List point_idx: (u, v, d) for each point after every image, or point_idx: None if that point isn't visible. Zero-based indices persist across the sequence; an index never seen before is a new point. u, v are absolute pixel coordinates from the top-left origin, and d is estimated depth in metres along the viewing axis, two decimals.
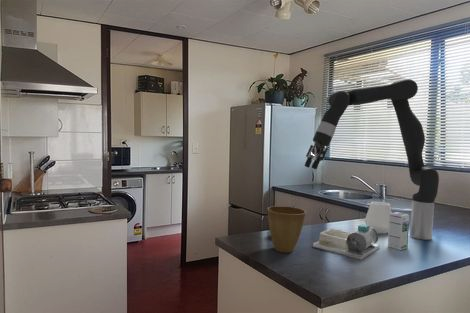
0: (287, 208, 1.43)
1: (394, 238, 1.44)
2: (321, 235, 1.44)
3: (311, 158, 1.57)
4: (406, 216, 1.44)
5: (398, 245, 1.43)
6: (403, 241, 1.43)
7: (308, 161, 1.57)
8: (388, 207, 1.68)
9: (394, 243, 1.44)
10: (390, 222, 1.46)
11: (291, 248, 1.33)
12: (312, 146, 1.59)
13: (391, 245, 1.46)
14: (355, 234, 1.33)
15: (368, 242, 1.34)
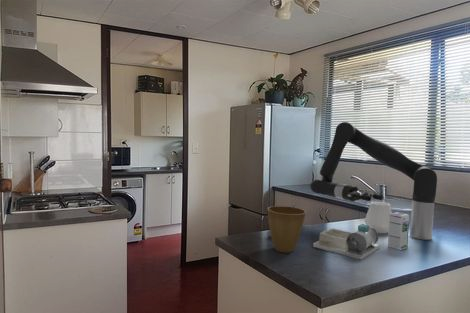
0: (287, 208, 1.43)
1: (394, 238, 1.44)
2: (321, 235, 1.44)
3: (373, 194, 1.60)
4: (406, 216, 1.44)
5: (398, 245, 1.43)
6: (403, 241, 1.43)
7: (376, 197, 1.59)
8: (388, 207, 1.68)
9: (394, 243, 1.44)
10: (390, 222, 1.46)
11: (291, 248, 1.33)
12: None
13: (391, 245, 1.46)
14: (355, 234, 1.33)
15: (368, 242, 1.34)
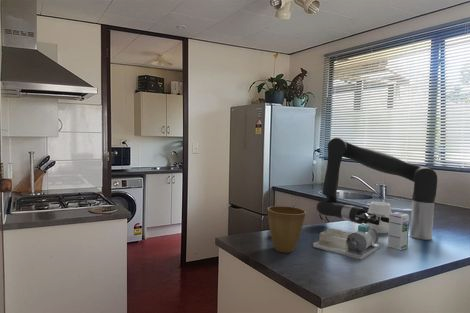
0: (287, 208, 1.43)
1: (394, 238, 1.44)
2: (321, 235, 1.44)
3: (381, 217, 1.57)
4: (406, 216, 1.44)
5: (398, 245, 1.43)
6: (403, 241, 1.43)
7: (384, 220, 1.56)
8: (388, 207, 1.68)
9: (394, 243, 1.44)
10: (390, 222, 1.46)
11: (291, 248, 1.33)
12: None
13: (391, 245, 1.46)
14: (355, 234, 1.33)
15: (368, 242, 1.34)
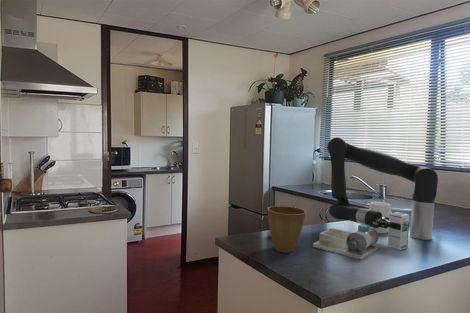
0: (287, 208, 1.43)
1: (394, 238, 1.44)
2: (321, 235, 1.44)
3: None
4: (406, 216, 1.44)
5: (398, 245, 1.43)
6: (403, 241, 1.43)
7: None
8: (388, 207, 1.68)
9: (394, 243, 1.44)
10: None
11: (291, 248, 1.33)
12: None
13: (391, 245, 1.46)
14: (355, 234, 1.33)
15: (368, 242, 1.34)
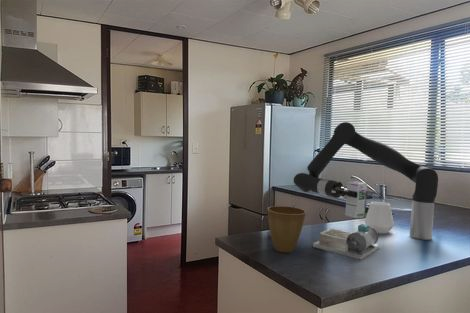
0: (287, 208, 1.43)
1: (351, 207, 1.44)
2: (321, 235, 1.44)
3: None
4: (363, 184, 1.43)
5: (355, 213, 1.42)
6: (360, 209, 1.43)
7: None
8: (388, 207, 1.68)
9: (351, 211, 1.44)
10: None
11: (291, 248, 1.33)
12: None
13: (348, 213, 1.45)
14: (355, 234, 1.33)
15: (368, 242, 1.34)
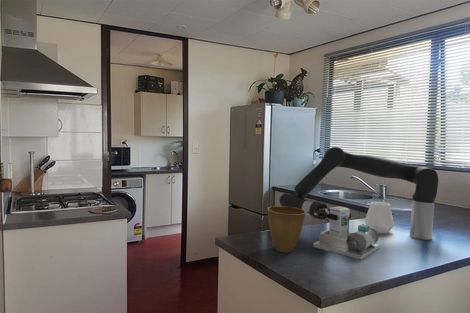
0: (287, 208, 1.43)
1: (334, 233, 1.44)
2: (321, 235, 1.44)
3: None
4: (346, 210, 1.43)
5: None
6: (343, 235, 1.43)
7: None
8: (388, 207, 1.68)
9: None
10: None
11: (291, 248, 1.33)
12: None
13: None
14: (355, 234, 1.33)
15: (368, 242, 1.34)
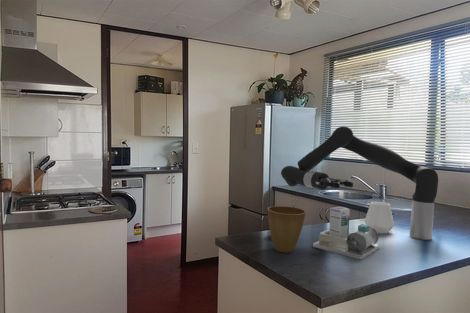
0: (287, 208, 1.43)
1: (334, 233, 1.44)
2: (321, 235, 1.44)
3: (343, 182, 1.48)
4: (346, 210, 1.43)
5: None
6: (343, 235, 1.43)
7: (346, 184, 1.47)
8: (388, 207, 1.68)
9: None
10: (331, 216, 1.45)
11: (291, 248, 1.33)
12: None
13: None
14: (355, 234, 1.33)
15: (368, 242, 1.34)
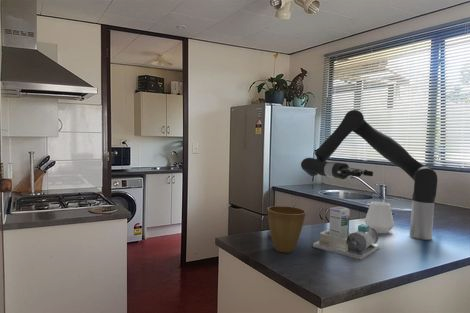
0: (287, 208, 1.43)
1: (334, 233, 1.44)
2: (321, 235, 1.44)
3: (363, 171, 1.56)
4: (346, 210, 1.43)
5: None
6: (343, 235, 1.43)
7: (367, 173, 1.54)
8: (388, 207, 1.68)
9: None
10: (331, 216, 1.45)
11: (291, 248, 1.33)
12: None
13: None
14: (355, 234, 1.33)
15: (368, 242, 1.34)
